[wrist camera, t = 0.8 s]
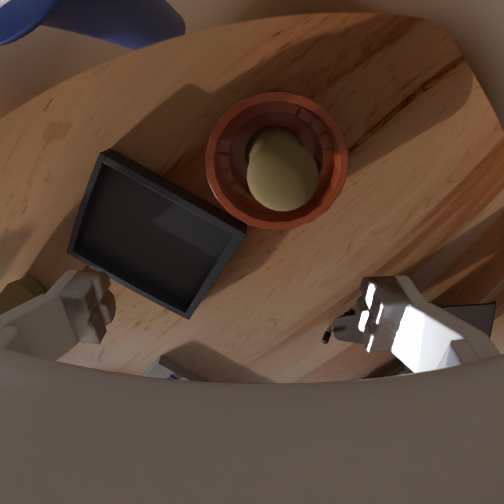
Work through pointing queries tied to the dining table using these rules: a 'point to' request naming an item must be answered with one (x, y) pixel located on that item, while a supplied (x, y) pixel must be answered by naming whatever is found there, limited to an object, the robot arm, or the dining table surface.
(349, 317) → the laptop tray
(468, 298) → the dining table surface
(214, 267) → the tray
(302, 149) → the olive green bottle
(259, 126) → the bowl
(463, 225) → the dining table surface
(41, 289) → the squeeze bottle
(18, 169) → the dining table surface
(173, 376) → the remote control
